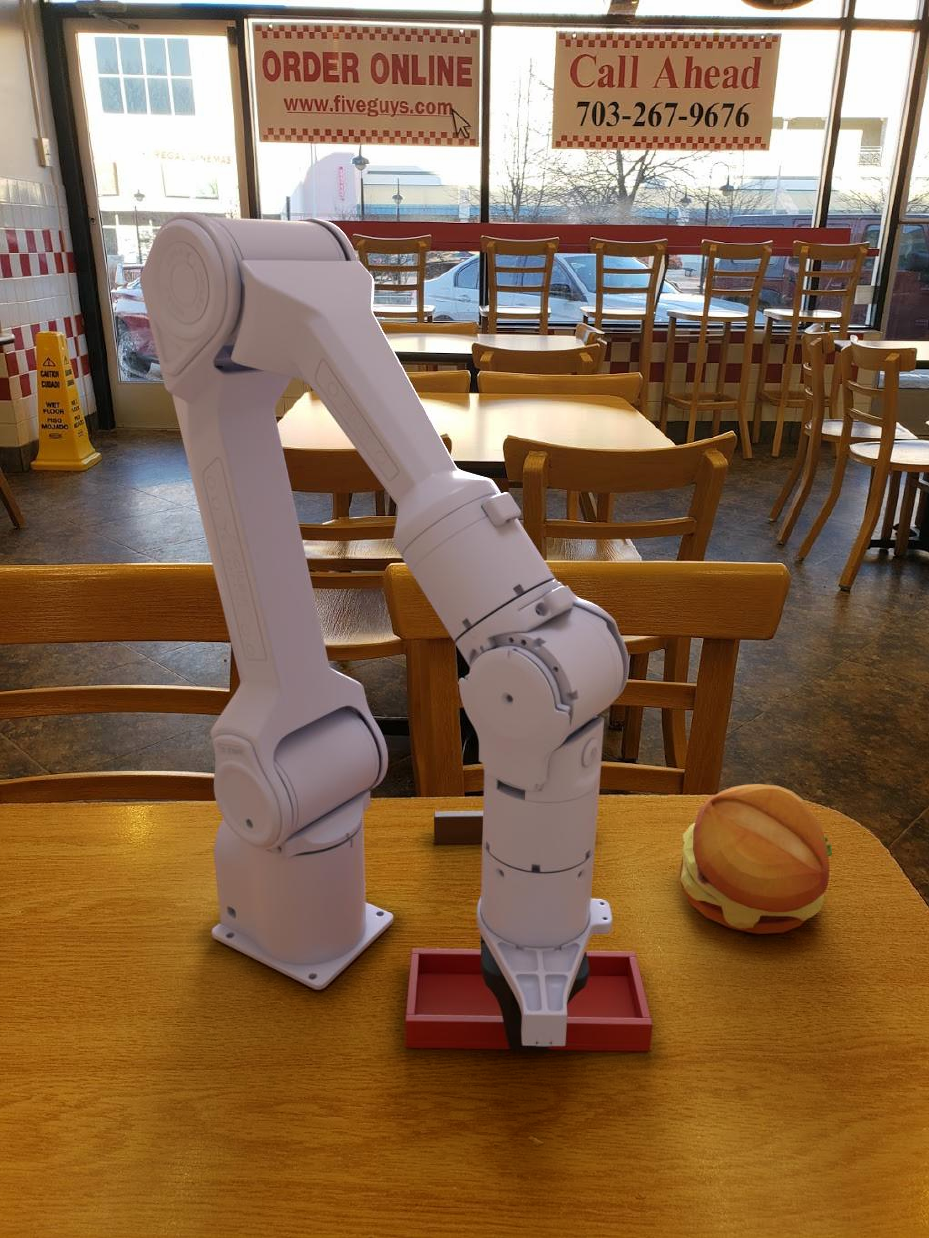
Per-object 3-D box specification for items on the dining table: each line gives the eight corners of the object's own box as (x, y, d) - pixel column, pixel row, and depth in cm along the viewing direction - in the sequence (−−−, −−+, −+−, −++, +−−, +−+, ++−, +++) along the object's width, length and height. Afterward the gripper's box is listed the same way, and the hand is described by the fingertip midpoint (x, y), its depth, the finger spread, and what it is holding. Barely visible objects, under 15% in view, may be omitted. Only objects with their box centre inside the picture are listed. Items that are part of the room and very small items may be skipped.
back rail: (588, 841, 73) (590, 814, 72) (434, 844, 72) (434, 816, 71) (586, 835, 74) (588, 808, 73) (433, 838, 73) (433, 811, 72)
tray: (649, 1051, 54) (652, 1024, 53) (405, 1048, 54) (405, 1020, 53) (633, 976, 59) (635, 951, 59) (411, 973, 59) (411, 948, 59)
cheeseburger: (801, 853, 72) (832, 758, 66) (832, 977, 63) (870, 880, 57) (667, 843, 72) (685, 747, 67) (679, 964, 64) (701, 866, 58)
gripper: (641, 936, 41) (619, 1162, 46) (598, 767, 54) (585, 955, 59) (479, 934, 41) (474, 1160, 46) (477, 765, 54) (473, 953, 59)
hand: (528, 1044), depth 53 cm, fingers closed
